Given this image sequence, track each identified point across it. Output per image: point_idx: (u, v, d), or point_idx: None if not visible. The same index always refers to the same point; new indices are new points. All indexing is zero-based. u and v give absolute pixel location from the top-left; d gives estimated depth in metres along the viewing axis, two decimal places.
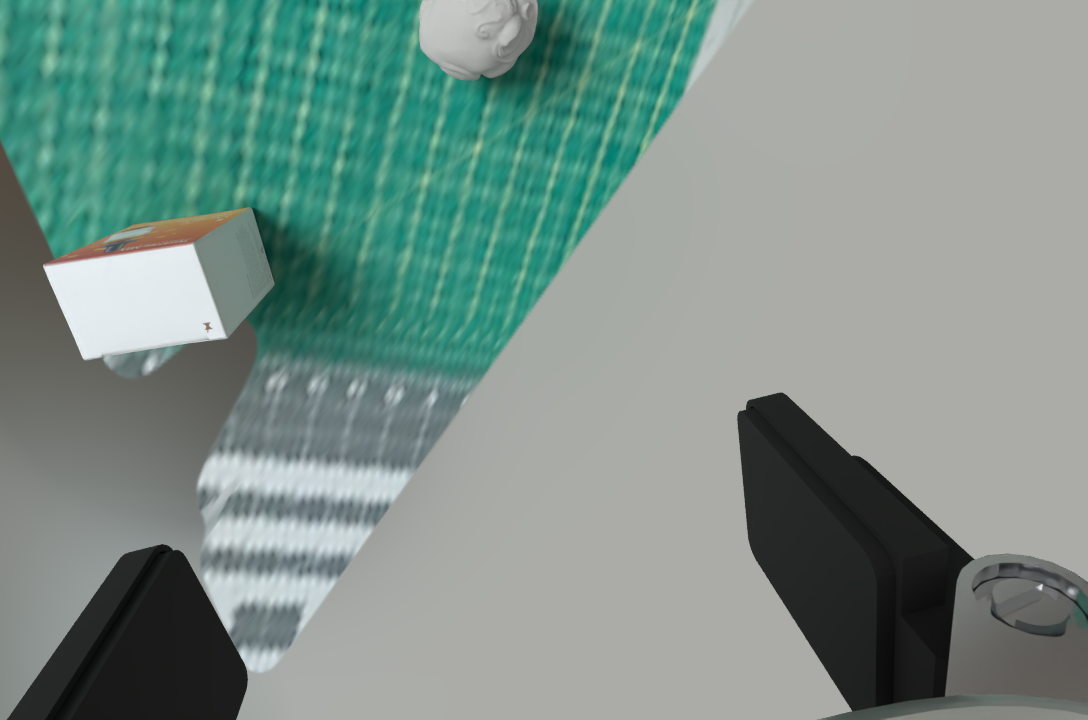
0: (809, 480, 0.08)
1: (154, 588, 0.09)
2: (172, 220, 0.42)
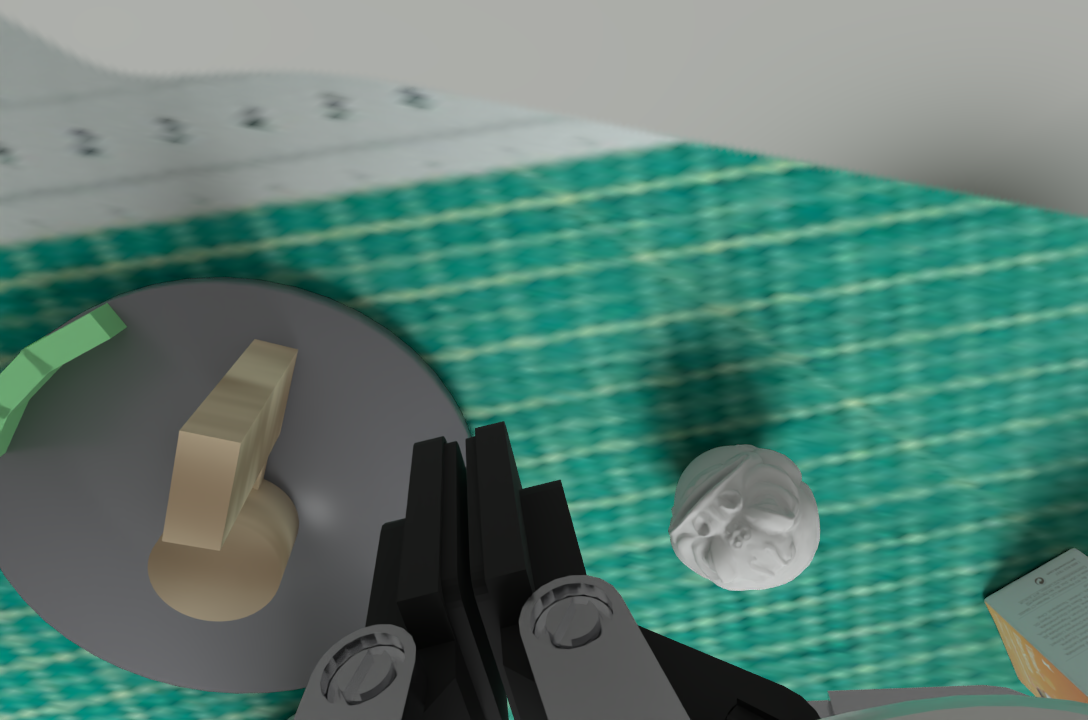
0: (473, 505, 0.09)
1: (456, 467, 0.10)
2: (1019, 664, 0.36)
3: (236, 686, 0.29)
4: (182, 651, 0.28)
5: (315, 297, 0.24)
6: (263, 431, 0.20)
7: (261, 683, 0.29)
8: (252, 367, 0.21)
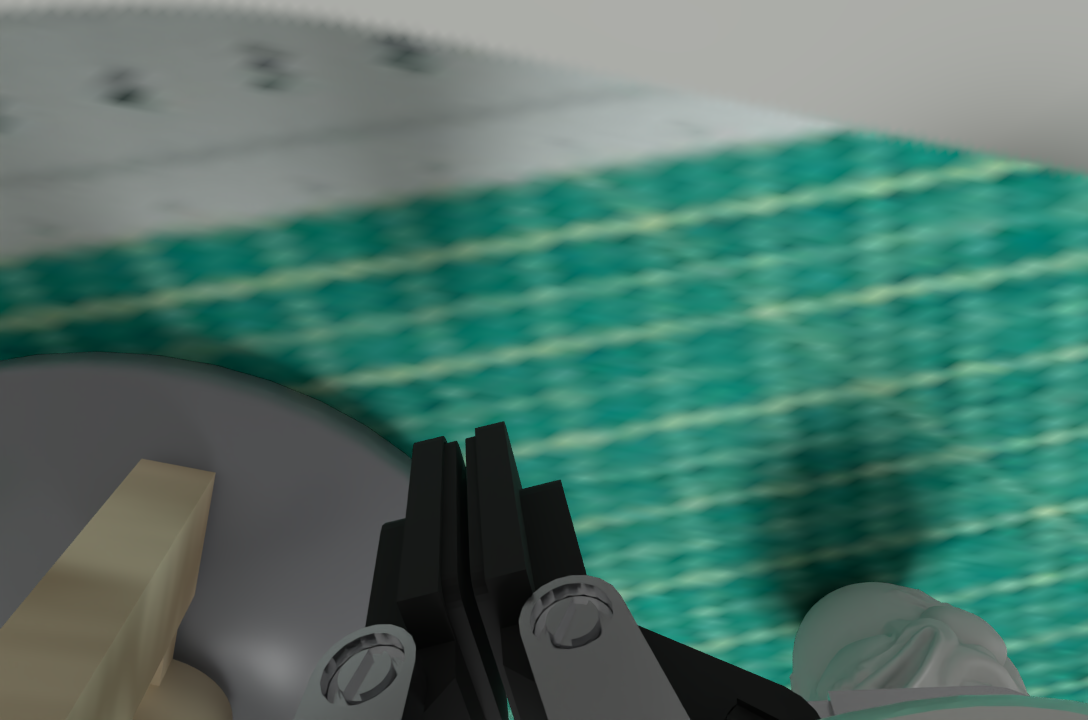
0: (473, 505, 0.09)
1: (456, 467, 0.10)
2: None
3: None
4: None
5: (245, 384, 0.15)
6: (130, 658, 0.11)
7: None
8: (120, 530, 0.12)
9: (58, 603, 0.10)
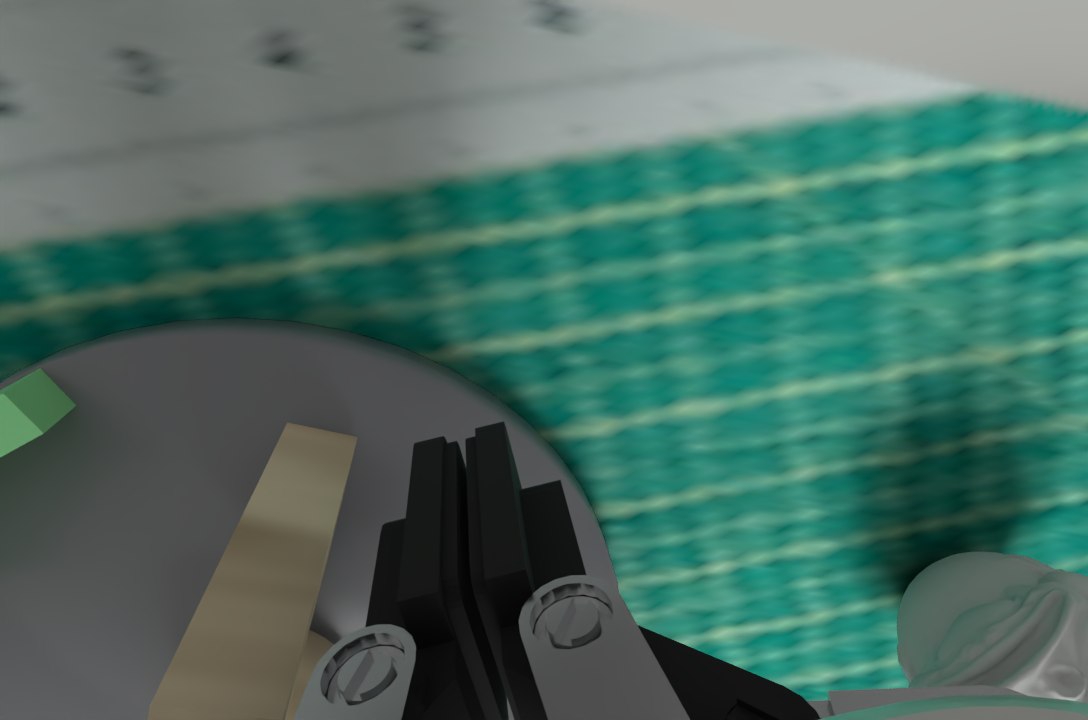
0: (473, 505, 0.09)
1: (456, 467, 0.10)
2: None
3: None
4: None
5: (382, 349, 0.15)
6: (312, 612, 0.11)
7: None
8: (289, 487, 0.12)
9: (256, 553, 0.10)
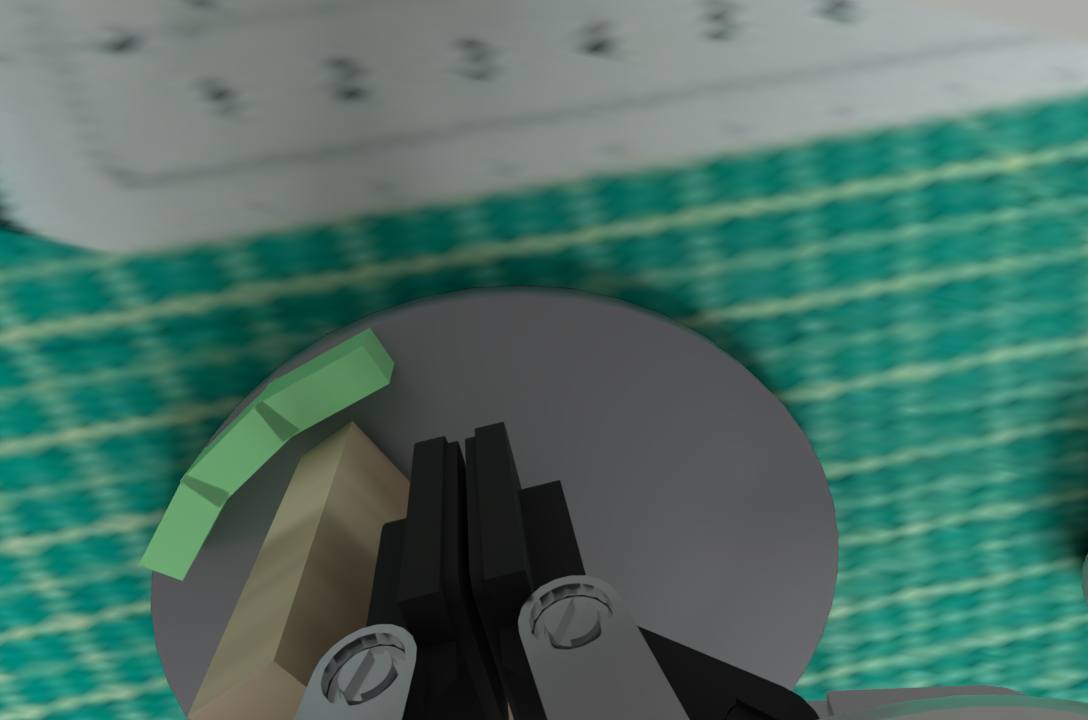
0: (472, 506, 0.09)
1: (456, 467, 0.10)
2: None
3: None
4: None
5: (652, 314, 0.16)
6: (370, 567, 0.12)
7: None
8: (297, 498, 0.13)
9: (269, 561, 0.11)
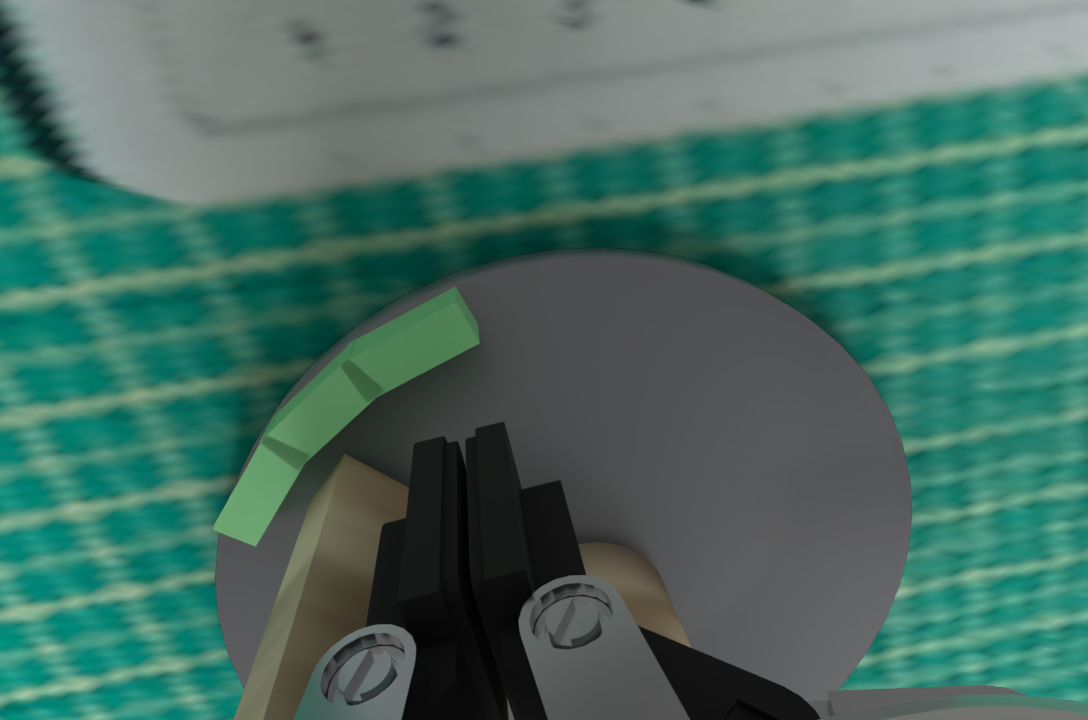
0: (473, 505, 0.09)
1: (456, 467, 0.10)
2: None
3: None
4: None
5: (738, 279, 0.16)
6: None
7: None
8: (301, 546, 0.13)
9: (276, 619, 0.11)
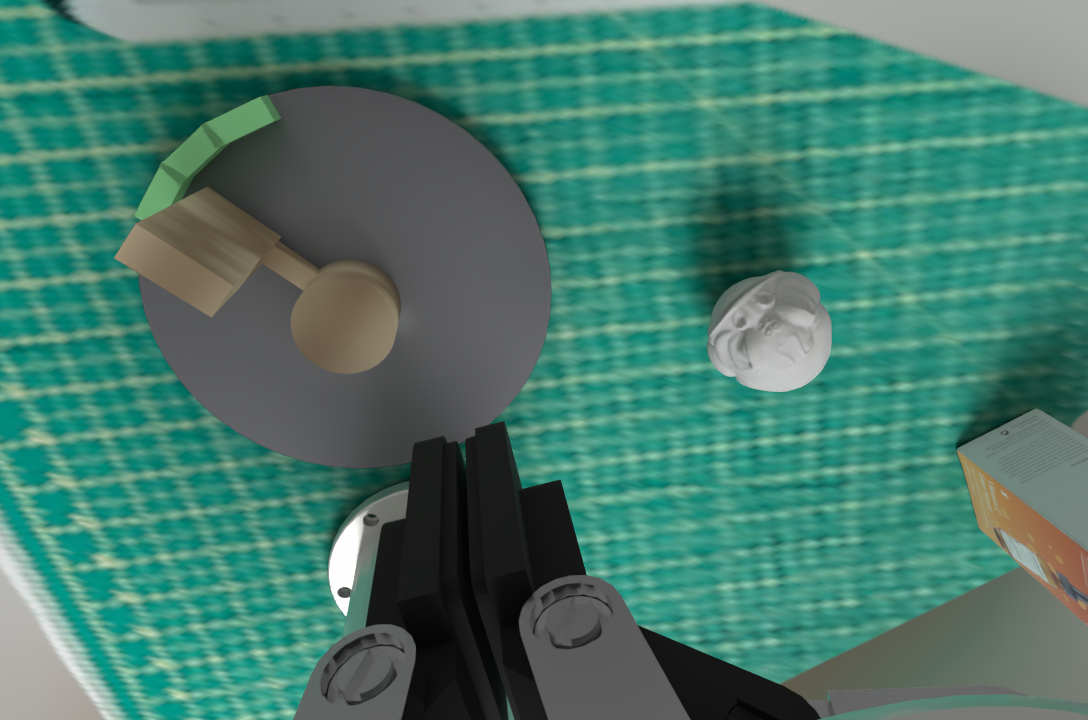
0: (473, 505, 0.09)
1: (455, 467, 0.10)
2: (980, 508, 0.42)
3: (330, 460, 0.35)
4: (289, 422, 0.33)
5: (433, 110, 0.29)
6: (206, 226, 0.25)
7: (350, 459, 0.35)
8: None
9: None
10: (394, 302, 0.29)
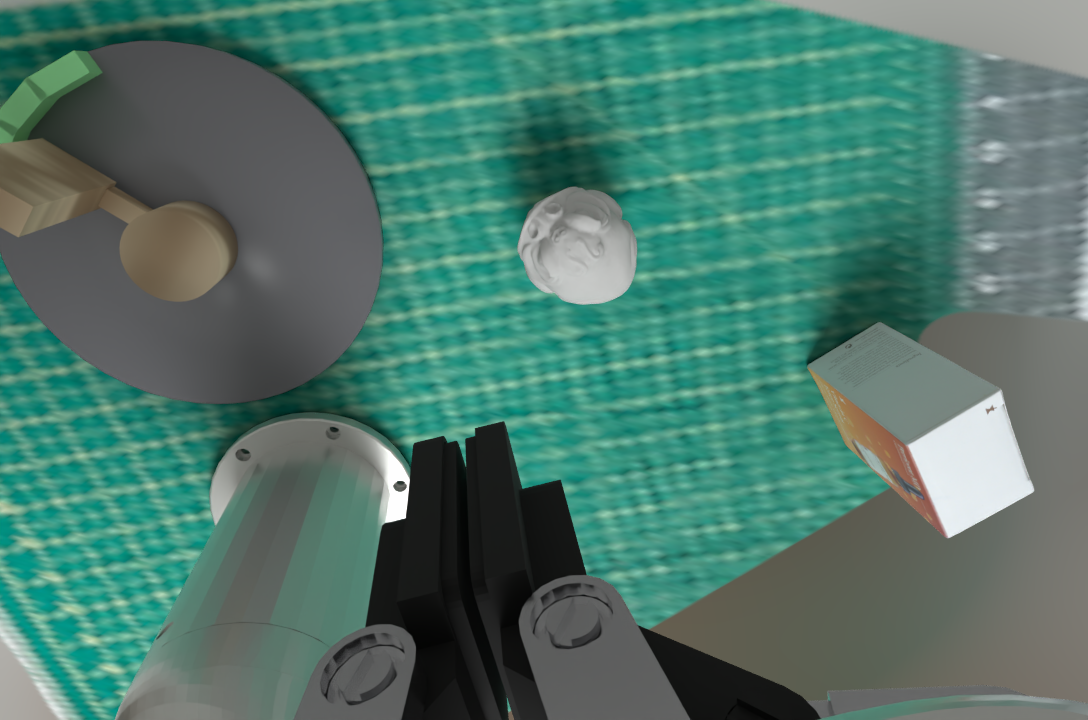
0: (473, 505, 0.09)
1: (456, 467, 0.10)
2: (839, 423, 0.44)
3: (195, 396, 0.37)
4: (152, 361, 0.36)
5: (244, 59, 0.32)
6: (24, 164, 0.28)
7: (215, 395, 0.38)
8: None
9: None
10: (220, 235, 0.32)
